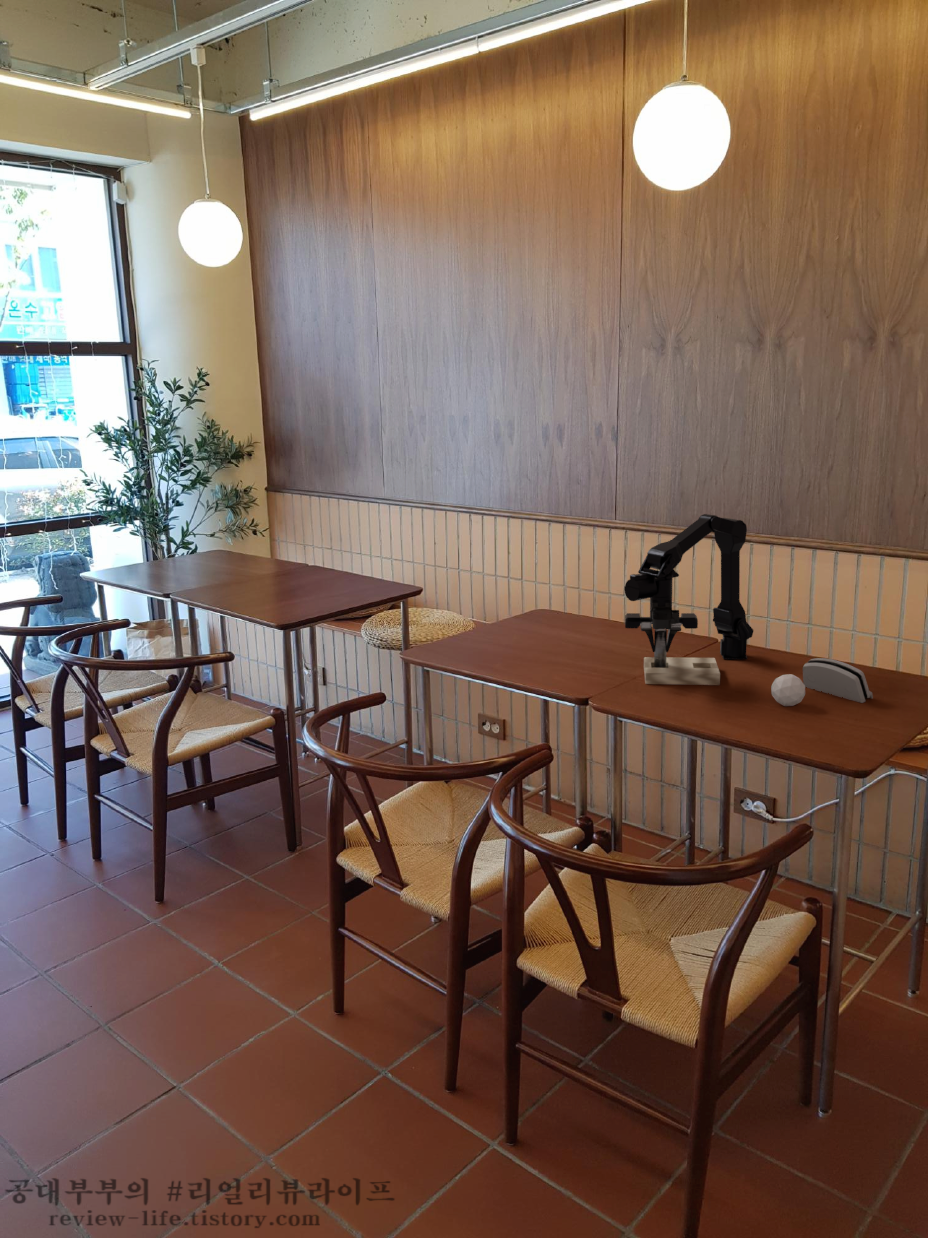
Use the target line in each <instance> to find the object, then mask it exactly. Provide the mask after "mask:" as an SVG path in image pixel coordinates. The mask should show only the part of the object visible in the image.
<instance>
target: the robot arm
mask: <svg viewBox="0 0 928 1238" xmlns="http://www.w3.org/2000/svg"><path fill="white" fill-rule="evenodd" d="M747 531H748V529H747V524H746V523H745V521H743V520H741V519H735V518H728V517H719V516H718V515H716V514H709V513H703V514H701V515H700V516H698V519H697V520H695V521H694V522H693V523H691V524H690V525H689V526H687V527H686V528H685V529H684V530H682V531H681V532H680V533H678V534H677V535H676V536H674V537H673V538H672V539H670V540H668V541H664V542H661V543H659V544H656V545H655V546H652V547H651V548H650V549H648V551H647V552H646V553H647V555H646V556H645V558H644V560H643V562H642V564H641V565H640V568H639V569H638V571H637V574H635V573H632V574H630V575H629V579H628V580H627V581H626V582H625V585H624V588H623V589H624V594H625V597H626V598H627V600H628V601H631V602H637V601H641V600H646V599H649V616H641V614H640V613H639V612H638V613H636V612H635V613H633V612H632V613H631V612H630V613H629V612H627V613H626V614H625V615H624V628H625V629H638V628H639V627H640V631H641V632H644V633H645V634H646V636H647V638H648V640H649V644H650V647H651V651H652V653H654V650H655V647H654V634H653V633H654V632H653V630H655V629H656V630H658V629H666V630H667V649H666V653H669V651H670V648H671V644H672V643H673V640H674V637H675V636H676V634H677V633H678V632H681V631H682V627H683V628H684V629H685V630H686V629H692V630H693V629H698V628H699V627H698V625H699V621H698V620H699V619H698V617H697V614H696V613H693V612H691V613H689V612H688V613H687V612H686V613H684V612H683V613H681V615H680V609H673V578H679V577H680V574H679V573H678V572H677V571H675V568H676V567H677V566H678V565H679V563H681V562H682V559H683V556H684V554H685V553H686V552H688V551H689V550H691V548H693V547H694V546H695V545H697V544H698V543H699V542H701V541H702V540H703V539H704V538H706V537H707V536H709V534H711V533H713V534H714V541H715V543H716V545H717V547H718V548H719V551H720V602H719V603H718V605H717V606H716V607H713V610H712V613H713V619H712V622H714V626H715V627H716V631H717V634H719V635H722V638H721V639H720V641H719V642H720V643H719V644H720V645H719V646H720V647H719V649H720V650H719V653H720V656H722V658H723V660H748V656H747V647H748V646H747V645H748V640H750V638H752V637H753V634H754V629H753V628H752V626H751V625H750V624H749V623H748V622H747V615H746V611H745V609H744V607H743V605H742V603H741V601H740V595H741V594H740V592H741V590H740V588H741V587H740V577H741V576H740V573H741V572H740V566H741V565H740V564H741V563H740V558H741V556H740V555H741V553H740V552H741V550H742V548H743V546H744V545H745V543H746V539H747Z"/></svg>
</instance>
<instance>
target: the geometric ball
mask: <svg viewBox="0 0 928 1238" xmlns="http://www.w3.org/2000/svg"><path fill="white" fill-rule="evenodd" d="M770 688H771V690H770V691H771V696H772V697H773V699H774V700H775V702H776V703H778V704H780V705H782V706H783V707H793V706H795V705H797V704H799V703H801V702H802V701H803V699H804V698H805V695H806V687H805V685H804V684H803V680H802V679H801V678H800V677H798V676H796V675H794V673H793V674H790V673H788V674H782V675H780V676H779V677H776V678H775V679H774V680H773V682H772V684H771V686H770Z"/></svg>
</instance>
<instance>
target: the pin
mask: <svg viewBox="0 0 928 1238" xmlns="http://www.w3.org/2000/svg"><path fill="white" fill-rule="evenodd" d="M667 636H668V630H666V629H658V630H656V629H654V634H653V639H654V647H655V650H654V652H653V653H654V655H653V657H654V667H656V668H665V667H666V657H667V652H666V649H667Z"/></svg>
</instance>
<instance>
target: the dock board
mask: <svg viewBox="0 0 928 1238" xmlns="http://www.w3.org/2000/svg"><path fill="white" fill-rule="evenodd" d="M643 672H644V683H645V685H692V686H693V685H694V686H695V685H696V686H697V685H699V686H700V685H701V686H703V685H704V686H720V685H721V672H720V669H719V667H718V663H717V661H716V658H715V657H675V656H674V657H672V656H671V657H667V656H666V667H665V668H656V667H654V656H653V657H651V656H647V657H646V656H645V657H643Z"/></svg>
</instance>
